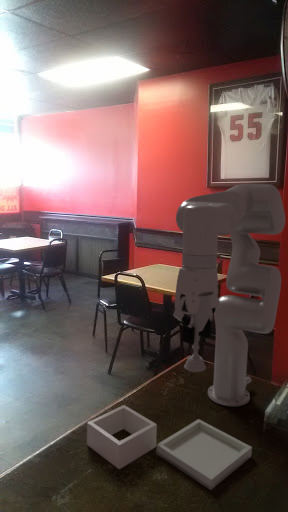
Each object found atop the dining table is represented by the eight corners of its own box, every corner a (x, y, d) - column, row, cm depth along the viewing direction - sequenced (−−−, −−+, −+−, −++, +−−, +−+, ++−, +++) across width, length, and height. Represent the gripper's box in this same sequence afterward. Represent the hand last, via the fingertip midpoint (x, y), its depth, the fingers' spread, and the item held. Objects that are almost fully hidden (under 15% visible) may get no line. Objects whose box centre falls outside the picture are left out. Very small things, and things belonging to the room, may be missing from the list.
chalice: (208, 375, 90) (212, 297, 87) (178, 372, 92) (180, 294, 88) (211, 362, 97) (214, 288, 94) (182, 358, 99) (185, 286, 95)
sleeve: (123, 425, 109) (124, 404, 108) (156, 446, 100) (156, 424, 99) (87, 444, 100) (87, 422, 99) (119, 469, 92) (119, 445, 91)
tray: (198, 427, 109) (198, 419, 108) (251, 456, 97) (251, 447, 97) (156, 454, 97) (156, 444, 97) (210, 490, 86) (211, 479, 86)
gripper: (210, 254, 98) (206, 326, 102) (159, 263, 87) (158, 344, 90) (236, 259, 93) (232, 335, 96) (186, 269, 81) (183, 355, 85)
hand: (196, 338), depth 93 cm, fingers closed on chalice, 4 cm apart
